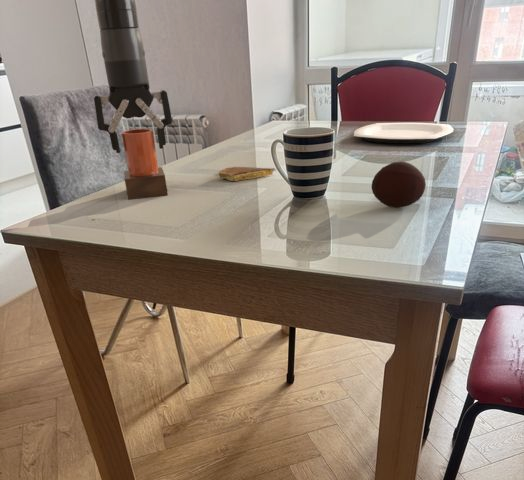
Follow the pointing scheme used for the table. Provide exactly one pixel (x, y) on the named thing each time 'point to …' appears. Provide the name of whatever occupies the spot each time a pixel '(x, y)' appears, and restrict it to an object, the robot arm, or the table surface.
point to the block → (145, 185)
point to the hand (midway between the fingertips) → (139, 150)
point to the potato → (398, 184)
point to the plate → (403, 132)
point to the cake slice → (244, 173)
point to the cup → (140, 152)
